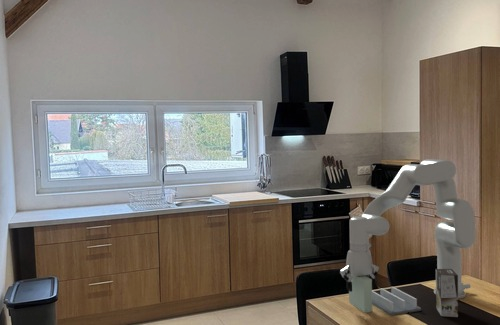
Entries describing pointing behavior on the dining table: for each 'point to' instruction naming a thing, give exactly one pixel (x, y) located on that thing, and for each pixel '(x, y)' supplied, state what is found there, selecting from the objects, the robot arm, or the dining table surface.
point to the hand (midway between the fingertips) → (360, 289)
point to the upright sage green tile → (361, 293)
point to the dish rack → (394, 301)
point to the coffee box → (447, 292)
